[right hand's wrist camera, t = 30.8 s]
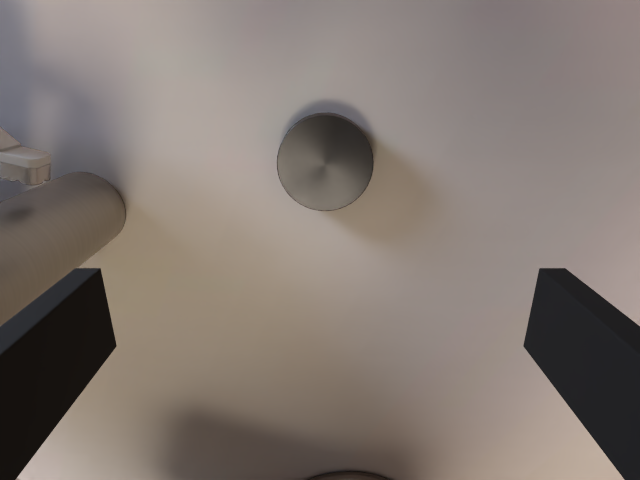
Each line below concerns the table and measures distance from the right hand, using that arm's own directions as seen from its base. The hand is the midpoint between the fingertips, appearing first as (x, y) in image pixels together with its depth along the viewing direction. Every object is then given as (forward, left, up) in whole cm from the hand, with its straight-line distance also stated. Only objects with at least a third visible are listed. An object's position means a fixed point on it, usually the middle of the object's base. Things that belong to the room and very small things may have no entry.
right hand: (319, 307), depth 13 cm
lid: (+1, 0, -17) cm, 17 cm away
